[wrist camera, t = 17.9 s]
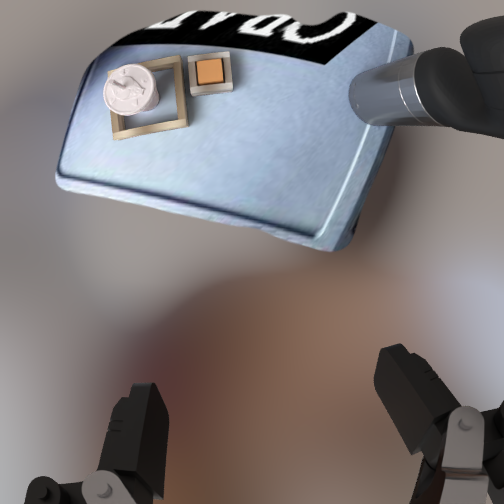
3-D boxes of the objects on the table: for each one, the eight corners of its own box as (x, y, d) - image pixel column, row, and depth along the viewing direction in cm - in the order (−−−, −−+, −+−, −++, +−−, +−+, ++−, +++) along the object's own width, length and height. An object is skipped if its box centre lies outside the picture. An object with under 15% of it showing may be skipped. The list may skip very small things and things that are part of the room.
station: (228, 54, 35) (229, 48, 32) (234, 121, 39) (236, 119, 36) (114, 75, 34) (107, 71, 31) (120, 140, 38) (113, 140, 35)
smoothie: (134, 75, 35) (100, 50, 22) (174, 83, 36) (155, 58, 23) (120, 115, 37) (80, 107, 24) (160, 124, 38) (133, 117, 25)
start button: (220, 63, 35) (221, 58, 32) (222, 83, 36) (223, 80, 33) (197, 65, 34) (196, 61, 32) (199, 86, 35) (198, 83, 33)
